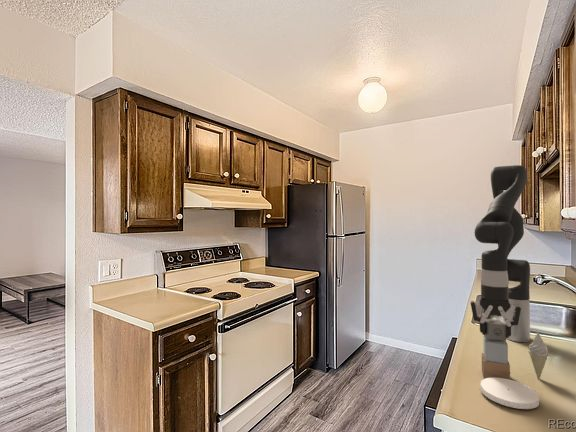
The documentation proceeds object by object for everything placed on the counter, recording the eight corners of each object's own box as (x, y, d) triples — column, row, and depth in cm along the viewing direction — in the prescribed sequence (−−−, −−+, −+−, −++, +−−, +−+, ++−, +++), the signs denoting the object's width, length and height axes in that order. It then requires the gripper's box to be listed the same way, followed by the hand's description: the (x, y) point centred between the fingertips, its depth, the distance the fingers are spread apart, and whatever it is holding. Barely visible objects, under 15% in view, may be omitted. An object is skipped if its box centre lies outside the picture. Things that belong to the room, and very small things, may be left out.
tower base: (481, 370, 110) (481, 352, 110) (506, 374, 107) (506, 356, 107) (483, 379, 103) (483, 361, 103) (510, 384, 100) (509, 365, 100)
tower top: (483, 353, 109) (483, 335, 109) (504, 356, 106) (504, 338, 106) (485, 360, 104) (485, 341, 104) (507, 364, 101) (507, 345, 101)
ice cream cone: (547, 377, 104) (546, 330, 104) (550, 384, 100) (549, 335, 100) (527, 373, 107) (527, 327, 107) (529, 380, 103) (529, 332, 103)
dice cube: (482, 333, 109) (482, 319, 109) (498, 334, 108) (498, 319, 108) (489, 339, 104) (488, 324, 104) (506, 340, 103) (506, 324, 103)
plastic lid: (482, 381, 103) (482, 373, 103) (537, 394, 95) (537, 386, 95) (478, 401, 92) (478, 393, 92) (540, 419, 84) (540, 409, 84)
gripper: (519, 283, 105) (519, 335, 105) (468, 279, 112) (468, 328, 112) (523, 287, 98) (524, 343, 98) (469, 284, 105) (470, 336, 105)
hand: (495, 335), depth 105 cm, fingers closed on dice cube, 5 cm apart
